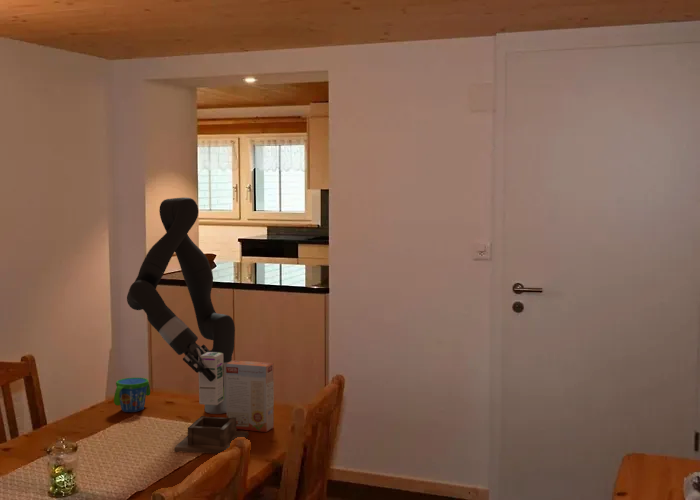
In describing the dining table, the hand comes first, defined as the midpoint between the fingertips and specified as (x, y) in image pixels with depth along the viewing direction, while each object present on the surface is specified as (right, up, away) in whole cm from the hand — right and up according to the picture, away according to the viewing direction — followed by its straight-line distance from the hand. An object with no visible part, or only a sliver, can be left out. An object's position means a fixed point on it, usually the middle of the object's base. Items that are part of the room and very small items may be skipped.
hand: (217, 376), depth 220 cm
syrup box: (-2, -8, +1) cm, 8 cm away
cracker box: (+8, -19, +16) cm, 26 cm away
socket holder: (-2, -20, +2) cm, 20 cm away
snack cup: (-35, -18, +36) cm, 53 cm away
